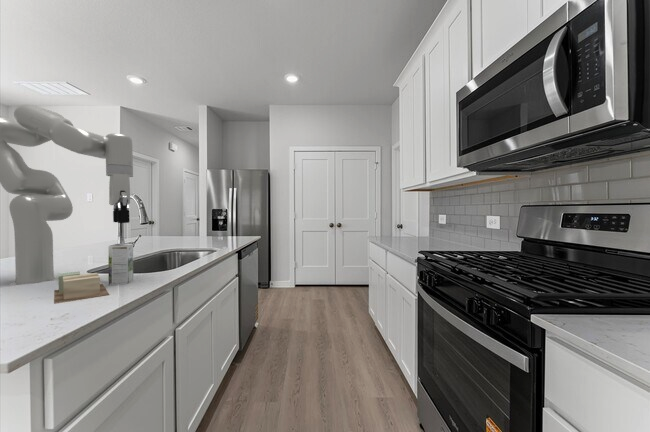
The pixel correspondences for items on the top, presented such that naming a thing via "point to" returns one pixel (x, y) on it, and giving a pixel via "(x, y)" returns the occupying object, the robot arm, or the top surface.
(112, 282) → the syrup box
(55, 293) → the board
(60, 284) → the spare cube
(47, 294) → the top surface
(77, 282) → the base block
